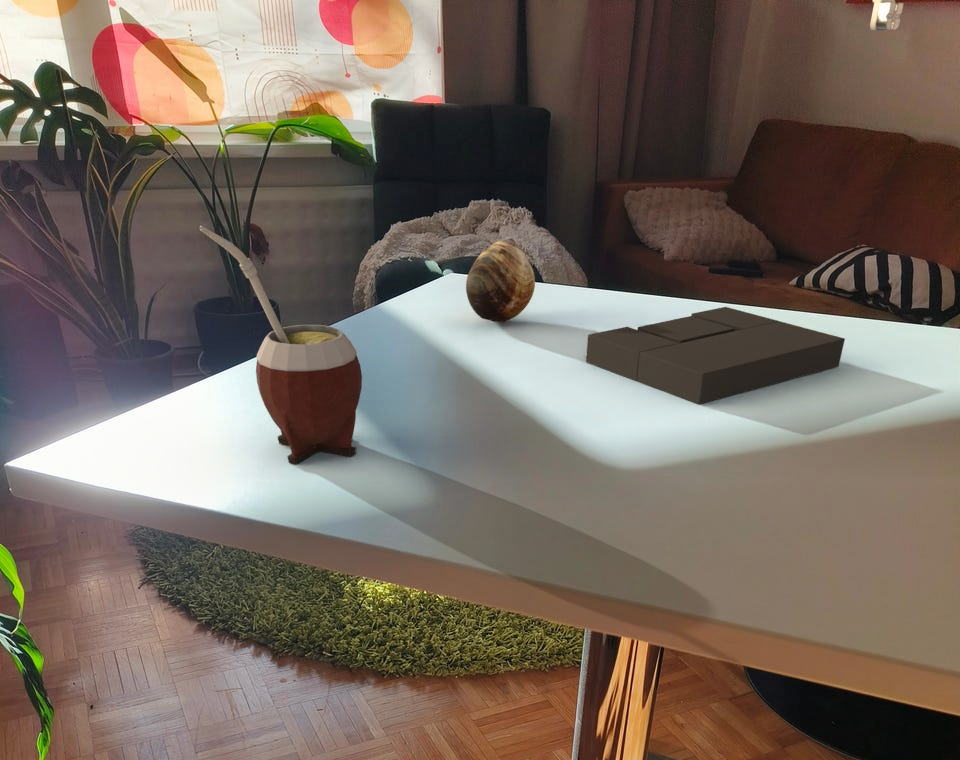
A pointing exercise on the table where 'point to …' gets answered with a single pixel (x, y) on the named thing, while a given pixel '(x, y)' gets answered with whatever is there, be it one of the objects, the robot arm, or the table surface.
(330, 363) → the mate gourd
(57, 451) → the table surface
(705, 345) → the big pad
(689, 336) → the small block
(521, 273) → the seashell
